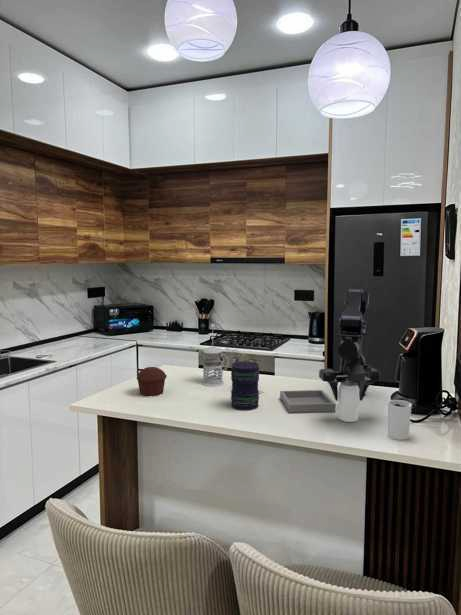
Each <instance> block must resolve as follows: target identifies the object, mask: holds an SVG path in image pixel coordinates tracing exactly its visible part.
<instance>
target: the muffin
mask: <svg viewBox="0 0 461 615" xmlns="http://www.w3.org/2000/svg"><path fill="white" fill-rule="evenodd" d="M167 376H168V375H167V374H166V372H165V371H164V370H163V369H161V368H159V367H156V366H147V367H144V368H143V369H141V370H140V371H139V372H138V374H137V376H136V380H137V383H138V388H139V389H138V390H139V395H141V394H142V395H141V396H143V397H148V396H152V397H159V396H161V395H160V394H162V395H163V394H164V389H165V383H166V379H167ZM158 395H159V396H158Z"/></svg>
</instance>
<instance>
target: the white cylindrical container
mask: <svg viewBox="0 0 461 615" xmlns="http://www.w3.org/2000/svg"><path fill="white" fill-rule="evenodd" d="M411 416H412V403H411V402H408V401H407V400H401V399H390V400H389V401H387V436H388V438H390V439H394V440H398V441H405V440H408V439H409V436H410V435H409V434H410V427H411V426H410V425H411Z"/></svg>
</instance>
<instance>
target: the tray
mask: <svg viewBox="0 0 461 615" xmlns="http://www.w3.org/2000/svg"><path fill="white" fill-rule="evenodd" d="M279 399H280V402H282V404H283V406H284V408H285V409H286V411H287V413H288V414H311V413H312V414H319V413H322V414H323V413H336V410H337V409H336V404H337V403H336V401H335V400H332V398H331V397H330V396H329V395H328V394H327V393H326V392H325V391H324V390H323V389H316V390H315V389H310V390H307V389H306V390H305V389H302V390H279Z"/></svg>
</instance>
